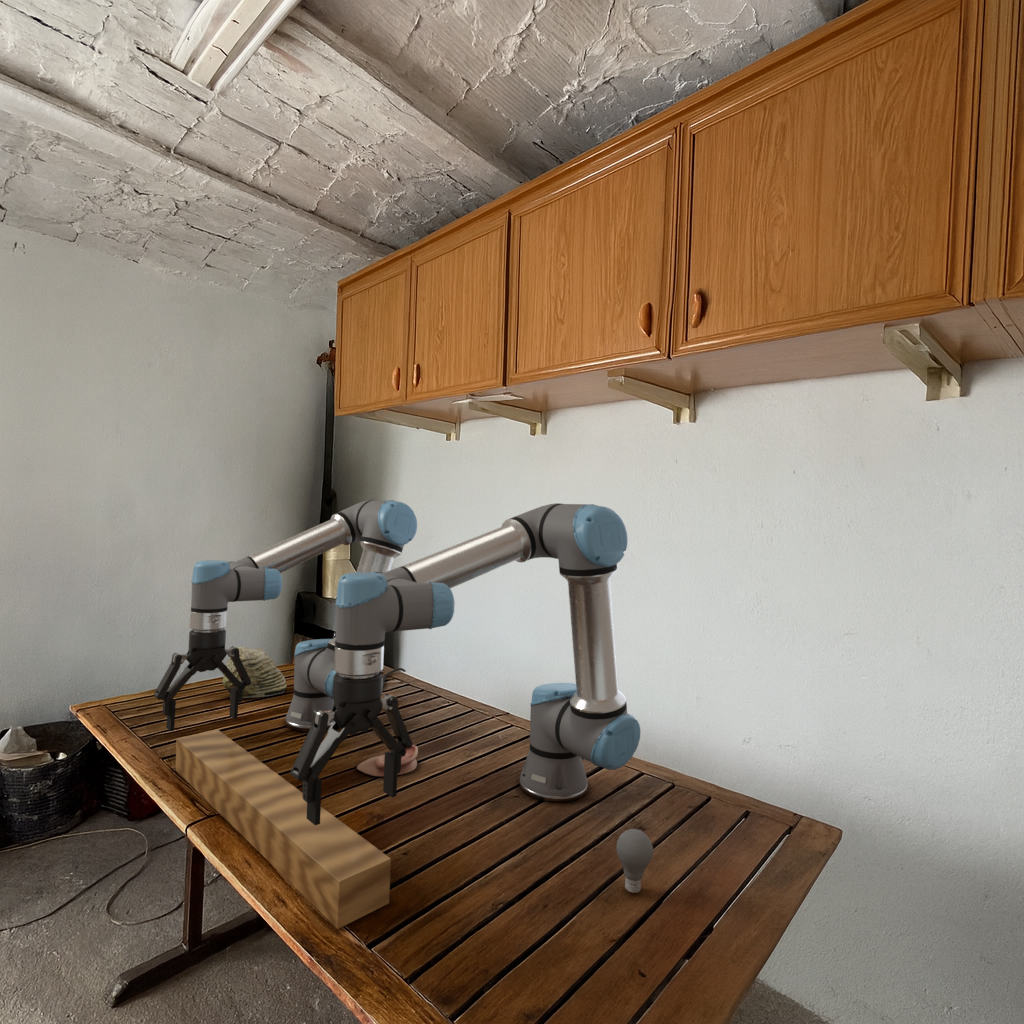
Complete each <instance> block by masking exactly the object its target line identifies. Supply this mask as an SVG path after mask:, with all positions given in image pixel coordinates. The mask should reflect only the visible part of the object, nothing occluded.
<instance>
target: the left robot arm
mask: <svg viewBox="0 0 1024 1024" xmlns="http://www.w3.org/2000/svg"><path fill="white" fill-rule="evenodd" d="M417 532H418V519H417V516H416V514H415V512H414V510H413V508H412V507H410V506H409V505H408V504H407V503H406V502H405V503H404V502H401V501H398V500H397V501H396V500H393V499H389V500H381V499H367V500H364V501H363V500H362V501H360V502H357V503H356V504H354V505H351V506H349V507H346V508H345V509H343V510H340V511H338V512H336V513H334V514H332V515H331V517H330V519H329V520H326V521H324V522H322V523H320V524H318V525H315V526H313V527H311V528H309V529H307V530H304V531H301V532H300V533H297V534H295V535H293V536H291V537H288V538H286V539H284V540H282V541H279V542H277V543H275V544H274V543H273V545H270V546H268V547H265V548H264V549H261V550H259V551H256V552H254V553H252V554H250V555H248V556H245V557H243V558H240V559H238V560H236V561H232V560H231V561H226V560H215V559H212V560H210V559H207V560H199V561H196V563H195V564H194V565H193V568H192V576H191V578H192V579H191V597H190V598H191V599H190V600H191V601H190V616H189V628H190V629H191V630H190V631H189V633H188V650H187V653H177V652H174V653H172V655H171V661H170V664H169V666H168V667H167V669H166V671H165V673H164V674H163V677H162V678H161V680H160V683H158V686H157V687H156V689H155V691H154V693H153V696H154V698H156V699H157V700H159V701H160V700H161V701H162V714H163V715H164V716H165V717H166V724H165V725H166V726H165V728H166V729H167V730H168V731H170V732H173V731H175V725H176V724H175V722H176V706H177V705H176V704H177V700H176V699H174V697H175V696H176V695H177V694H178V693H179V692H180V691H181V689H182V688H183V687H184V686H185V684H186V683H187V682H188V681H189V680H190V679H191V678H192V676H194V675H195V674H196V673H197V672H199V673H204V672H206V671H207V672H208V671H210V672H212V671H213V672H214V671H215V670H216V669H218V670H219V672H221V673H222V675H225V676H226V677H227V679H228V680H229V681H230V682H231V683H232V684H233V685H234V686H235V688H231V698H230V697H229V698H230V699H229V717H230V718H232V719H233V720H235V719H238V714H239V704H240V703H242V701H243V698H242V693H243V690H244V689H245V687H246V686H247V685H248V686H249V685H251V683H252V682H251V680H250V678H249V676H248V674H247V672H246V669H245V667H244V665H243V663H242V661H241V659H240V654H239V649H238V647H236V646H234V645H233V646H231V647H229V648H226V642H227V641H226V639H227V630H226V629H225V628H227V622H228V621H227V619H228V604H229V603H235V602H254V601H255V602H256V601H264V602H265V601H269V600H275V599H277V598H278V597H280V595H281V592H282V590H283V577H282V574H281V573H284V572H287V571H288V570H290V569H293V568H294V567H296V566H298V565H301V564H303V563H305V562H307V561H308V560H309V561H310V560H311V559H314V558H315V557H318V556H320V555H322V554H324V553H327V552H328V551H330V550H332V549H335V548H337V547H339V546H341V545H344V546H349V545H351V544H354V543H357V542H359V544H360V546H361V548H362V553H361V556H360V559H359V561H358V562H359V563H358V566H357V569H356V572H363V573H367V572H368V573H370V572H383V573H385V572H387V571H390V570H392V568H393V564H394V561H395V559H396V558H397V557H400V556H401V555H402V553H403V551H404V546H405V545H407V544H409V543H410V542H411V541H413V539H414V538H415V536H416V534H417ZM335 641H336V636H335V637H334V638H319V639H308V640H303V641H300V642H297V644H296V645H295V650H294V655H293V657H294V672H293V695H292V696H293V697H292V699H291V702H290V704H289V708H288V711H287V713H286V715H285V726H286V728H287V729H289V730H291V731H294V732H295V731H296V732H301V733H308V732H309V730H310V727H311V725H312V720H313V713H314V711H315V710H316V709H320V710H321V711H328V710H332V708H333V705H334V698H333V682H334V675H335V674H336V672H335V671H334V656H335ZM226 656H228V657H229V659H230V658H231V660H232V662H233V664H234V666H235V668H236V670H237V672H238V674H239V676H240V678H241V680H242V681H239V680H238V679H237V678H236V677H235V676H234V674H233V673H232V672H231V671H230V670H229V669H228V668H227V666H226V665H227V664H225V663H224V662H223V661H224V659H225V658H226ZM185 661H187V662H188V663H187V665H186V666H185V667H184V669H183V671H182V672H181V673H180V674H179V675H178V677H177V678H176V679H175V677H176V675H177V673H178V672H179V670H180V667H181V665H183V664H184V662H185ZM397 671H402V672H403V673H406V672H407V670H406V669H405V668H402V667H397V668H395V669H393V670H390V671H389V672H387V673H385V674H383V686H384V685H385V681H386V679H387V678H386V677H388V676H389V675H391V674H393V673H395V672H397ZM174 680H175V681H174ZM333 722H334V720H333V719H332V720H331V721H330V725H329V726H327V730H326V731H328V730H329V728H330V727H331V725H332V724H333Z"/></svg>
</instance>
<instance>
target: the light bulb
mask: <svg viewBox="0 0 1024 1024" xmlns="http://www.w3.org/2000/svg"><path fill="white" fill-rule="evenodd" d="M615 849H616V854H617V857H618V859H619V861H620V863H621V865H622V867H623V873H624V874H623V875H624V876H625V878H624V888H625V890H627V891H628V892H630V893H634V894H635V893H639V892H640V891H641V889H642V887H641V886H642V879H643V877H644V875H645V871H646V868H647V867H648V866H649V864H650V863H651V861H652V859H653V855H654V847H653V843H652V841H651V838H649V836H648V835H647V834H646V833H645V832H643V831H642V830H641V829H636V828H629V829H627V830H625V831H623V832H622V833H621V834H620V835H619V837H618V839H617V841H616V847H615Z"/></svg>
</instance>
